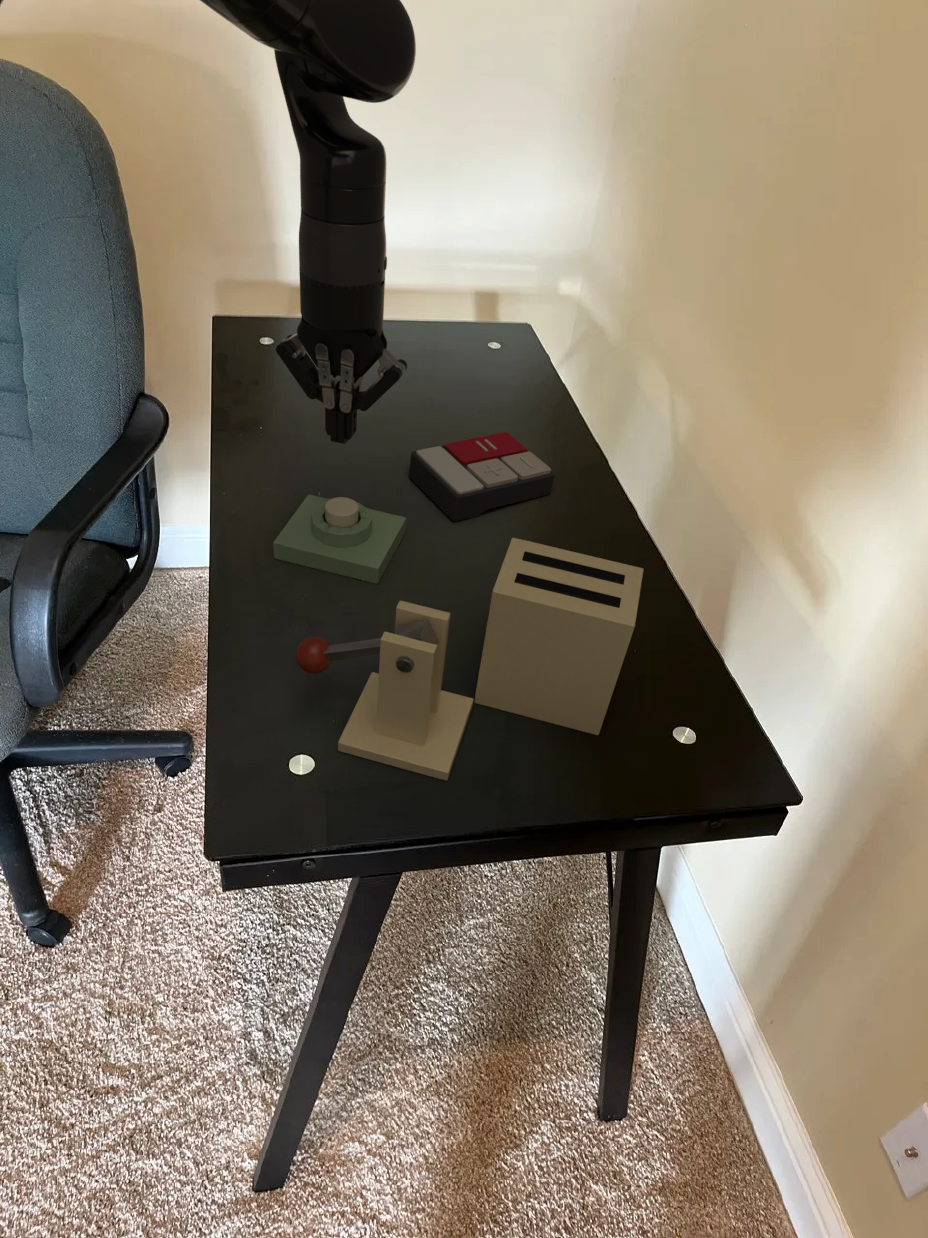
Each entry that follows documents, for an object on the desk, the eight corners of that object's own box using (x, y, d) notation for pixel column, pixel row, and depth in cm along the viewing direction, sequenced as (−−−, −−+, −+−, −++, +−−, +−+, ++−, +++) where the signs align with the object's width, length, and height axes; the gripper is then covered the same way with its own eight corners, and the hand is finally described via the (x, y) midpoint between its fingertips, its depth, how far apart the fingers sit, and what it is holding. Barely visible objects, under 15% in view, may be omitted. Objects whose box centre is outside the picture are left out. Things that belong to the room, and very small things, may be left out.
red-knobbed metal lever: (300, 683, 72) (283, 656, 70) (314, 658, 74) (298, 631, 73) (432, 667, 67) (416, 637, 65) (442, 641, 69) (428, 612, 67)
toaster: (473, 703, 78) (492, 589, 68) (492, 647, 84) (512, 535, 74) (598, 735, 77) (635, 625, 67) (608, 676, 82) (644, 566, 73)
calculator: (558, 469, 103) (458, 492, 96) (550, 498, 106) (453, 522, 99) (507, 427, 109) (410, 446, 102) (502, 455, 112) (407, 476, 105)
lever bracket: (337, 751, 72) (337, 647, 64) (371, 680, 79) (375, 577, 70) (447, 781, 71) (462, 680, 62) (472, 706, 78) (489, 605, 69)
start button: (320, 524, 90) (320, 511, 89) (332, 506, 93) (332, 493, 91) (351, 532, 90) (351, 519, 88) (362, 514, 92) (363, 501, 91)
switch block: (273, 558, 91) (271, 529, 88) (308, 509, 98) (308, 480, 95) (377, 584, 89) (378, 555, 86) (405, 532, 96) (407, 504, 94)
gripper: (253, 264, 71) (264, 442, 82) (401, 295, 69) (391, 472, 81) (289, 238, 76) (294, 408, 88) (426, 266, 75) (413, 436, 86)
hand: (341, 439), depth 84 cm, fingers closed
